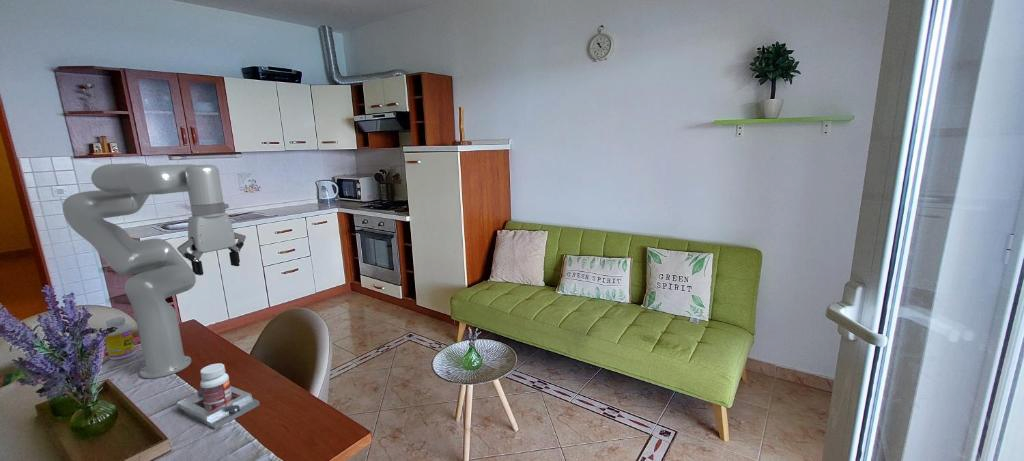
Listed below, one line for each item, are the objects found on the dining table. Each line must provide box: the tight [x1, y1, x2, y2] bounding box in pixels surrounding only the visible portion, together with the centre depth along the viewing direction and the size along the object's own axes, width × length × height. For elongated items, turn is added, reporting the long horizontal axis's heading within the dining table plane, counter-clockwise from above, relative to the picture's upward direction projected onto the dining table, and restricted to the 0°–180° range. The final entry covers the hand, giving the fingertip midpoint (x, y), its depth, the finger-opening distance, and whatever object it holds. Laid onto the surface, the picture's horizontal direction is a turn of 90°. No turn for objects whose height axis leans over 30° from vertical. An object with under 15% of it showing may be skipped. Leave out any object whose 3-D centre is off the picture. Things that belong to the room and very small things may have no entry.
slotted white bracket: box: [176, 385, 260, 430], centre depth 112 cm, size 17×11×3 cm, turn 62°
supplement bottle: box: [105, 316, 136, 361], centre depth 142 cm, size 7×7×13 cm
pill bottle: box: [199, 363, 233, 411], centre depth 111 cm, size 6×6×11 cm
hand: (217, 270), depth 121 cm, fingers open, 9 cm apart
